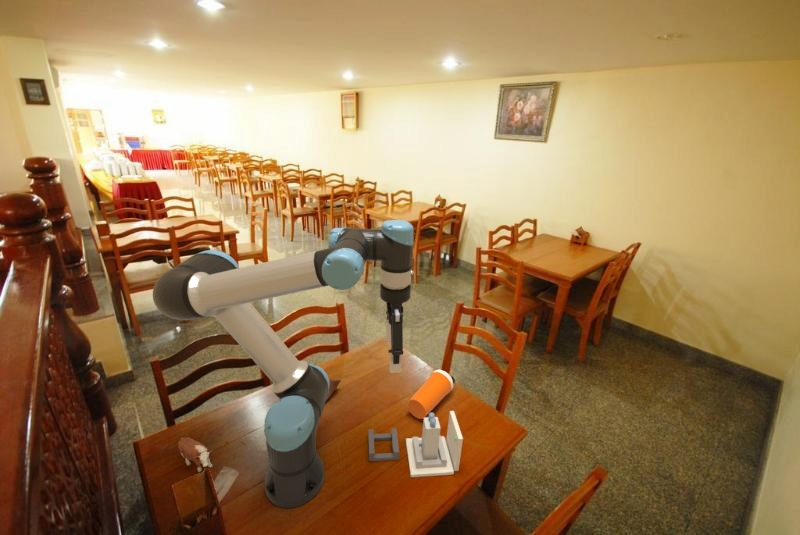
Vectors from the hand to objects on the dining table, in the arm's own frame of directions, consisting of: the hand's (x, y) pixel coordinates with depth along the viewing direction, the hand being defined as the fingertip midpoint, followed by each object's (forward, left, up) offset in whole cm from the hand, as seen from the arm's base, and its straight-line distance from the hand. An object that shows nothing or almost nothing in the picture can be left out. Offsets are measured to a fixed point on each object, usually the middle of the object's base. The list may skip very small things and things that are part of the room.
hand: (392, 355), depth 94 cm
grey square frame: (-2, -2, -32) cm, 32 cm away
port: (+11, -6, -32) cm, 34 cm away
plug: (+11, -6, -31) cm, 33 cm away
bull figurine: (-53, -4, -32) cm, 62 cm away
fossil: (-22, +21, -32) cm, 44 cm away
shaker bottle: (+9, +8, -27) cm, 30 cm away
